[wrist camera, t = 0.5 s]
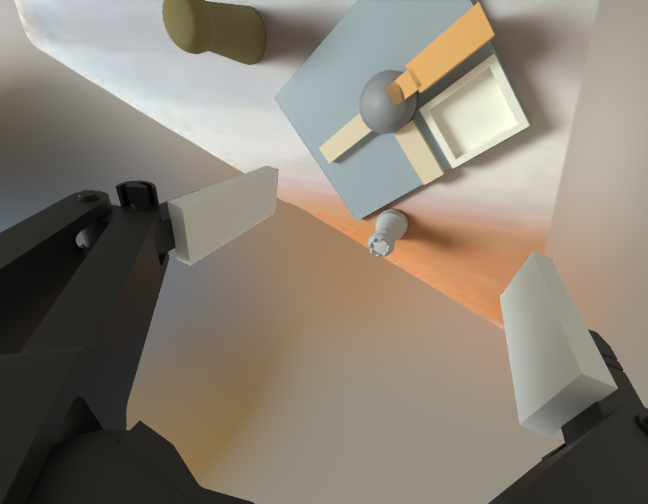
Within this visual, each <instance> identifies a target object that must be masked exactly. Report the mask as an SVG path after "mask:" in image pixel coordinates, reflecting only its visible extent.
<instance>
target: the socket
mask: <svg viewBox="0 0 648 504" xmlns="http://www.w3.org/2000/svg"><path fill="white" fill-rule="evenodd" d="M419 110H420V112H421V114H422V116H423V118H424V119H425V121H426V123H427V125H428V126H429V128H430V130H431V132H432V133H433V135H434V137H435V139H436V140H437V142H438V144H439V146H440V147H441V149H442V151H443V153H444V155H445V156H446V158H447V160H448V162H449V163H450V165H451V167H452V169H453V168H455V167H457V166H459V165H461V164H462V163H464V162H466V161H468V160H469V159H471V158H473V157H475V156H477V155H478V154H480V153H482V152H484V151H486V150H487V149H489V148H491V147H493V146H495V145H496V144H498V143H500V142H502V141H503V140H505V139H507V138H509V137H511V136H512V135H514V134H516V133H518V132H520V131H521V130H523V129H525V128H527V127H528V126H530V125H529V123H528V121H527V119H526V117H525V115H524V113H523V111H522V109H521V107H520V105H519V103H518V101H517V99H516V97H515V95H514V93H513V91H512V89H511V87H510V84H509V82H508V80H507V78H506V76H505V74H504V72H503V70H502V68H501V66H500V64H499V62H498V60H497V58H496V56H495V54H493V55H491V56H490V57H489V58H487V59H486V60H485V61H483V62H482V63H481V64H479V65H478V66H477V67H475V68H474V69H472V70H471V71H470V72H468V73H467V74H466V75H464V76H463V77H462V78H460V79H459V80H458V81H456V82H455V83H454V84H452V85H451V86H450V87H448V88H447V89H446V90H444V91H443V92H442V93H440V94H439V95H438V96H436V97H435V98H433V99H432V100H431V101H429V102H428V103H427V104H425V105H424V106H423V107H421V108H420V109H419Z"/></svg>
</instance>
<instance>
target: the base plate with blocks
mask: <svg viewBox="0 0 648 504" xmlns="http://www.w3.org/2000/svg"><path fill="white" fill-rule="evenodd" d="M472 7H473V4H472V2H471V0H357V2H356V3H355V4H354V5H353V6H352V7H351V9H350V10H349V11H348V12H347V13H346V14H345V16H344V17H343V18H342V19H341V20H340V21H339V23H338V24H337V25H336V26H335V27H334V28H333V30H332V31H331V32H330V33H329V34H328V35H327V37H326V38H325V39H324V40H323V41H322V42H321V44H320V45H319V46H318V47H317V48H316V50H315V51H314V52H313V53H312V54H311V55H310V57H309V58H308V59H307V60H306V61H305V62H304V64H303V65H302V66H301V67H300V68H299V69H298V71H297V72H296V73H295V74H294V75H293V76H292V78H291V79H290V80H289V81H288V82H287V83H286V85H285V86H284V87H283V88H282V89H281V90H280V92H279V93H278V94H277V95H276V96H275V97H274V99H275V100H276V102H277V103H278V105H279V106H280V108H281V109H282V111H283V112H284V114H285V115H286V117H287V118H288V120H289V121H290V123H291V124H292V126H293V127H294V129H295V130H296V132H297V133H298V135H299V136H300V138H301V139H302V141H303V142H304V144H305V145H306V147H307V148H308V150H309V151H310V153H311V154H312V156H313V157H314V159H315V160H316V162H317V163H318V165H319V166H320V168H321V169H322V171H323V172H324V174H325V175H326V177H327V178H328V179H329V181H330V182H331V184H332V185H333V187H334V188H335V190H336V191H337V193H338V194H339V196H340V197H341V199H342V200H343V202H344V203H345V205H346V206H347V208H348V209H349V211H350V212H351V214H352V215H353V217H354V218H355V220H356V221H358V220H360V219H361V218H363V217H365V216H367V215H369V214H370V213H372V212H374V211H376V210H377V209H379V208H381V207H383V206H385V205H386V204H388V203H390V202H392V201H393V200H395V199H397V198H399V197H401V196H402V195H404V194H406V193H408V192H409V191H411V190H413V189H415V188H417V187H418V186H420V185H422V184H424V185H426V184H427V183H429V182H431V181H433V180H434V179H436V178H438V177H440V176H442V175H443V174H444V172H445V171H447V170H448V169H450V168H452V167H451V165H450V163H449V162H448V160H447V158H446V156H445V155H444V153H443V151H442V149H441V147H440V146H439V144H438V142H437V140H436V139H435V137H434V135H433V133H432V132H431V130H430V128H429V126H428V125H427V123H426V121H425V119H424V118H423V116H422V114H421V112H420V110H419V109H420V108H421V107H423V106H424V105H425V104H427V103H428V102H429V101H431V100H432V99H433V98H435V97H436V96H438V95H439V94H440V93H442V92H443V91H444V90H446V89H447V88H448V87H450V86H451V85H452V84H454V83H455V82H456V81H458V80H459V79H460V78H462V77H463V76H464V75H466V74H467V73H468V72H470V71H471V70H472V69H474V68H475V67H477V66H478V65H479V64H481V63H482V62H483V61H485V60H486V59H487V58H489V57H490V56H491V55H493V54H495V56H496V58H497V60H498V62H499V64H500V66H501V68H502V70H503V72H504V74H505V76H506V78H507V80H508V82H509V84H510V87H511V89H512V91H513V93H514V95H515V97H516V99H517V101H518V103H519V105H520V107H521V109H522V111H523V113H524V115H525V117H526V119H527V121H528V123H529V124H530V123H531V122H530V120H529V118H528V116H527V114H526V112H525V110H524V108H523V106H522V104H521V102H520V100H519V98H518V96H517V94H516V92H515V90H514V88H513V86H512V84H511V81H510V79H509V77H508V75H507V73H506V71H505V69H504V67H503V65H502V63H501V61H500V59H499V57H498V55H497V53H496V51H495V49H494V47H493V45H492V43H491V41H489V42H488V43H486V44H485V45H484V46H483V47H481V48H480V49H479V50H477V51H476V52H475V53H473V54H472V55H471V56H470V57H468V58H467V59H466V60H464V61H463V62H462V63H461V64H459V65H458V66H457V67H455V68H454V69H453V70H452V71H450V72H449V73H448V74H446V75H445V76H444V77H443V78H441V79H440V80H439V81H437V82H436V83H435V84H434V85H432V86H431V87H430V88H428V89H427V90H426V91H424V92H423V93H420V92H419V90H418V91H417V92H415V93H414V94H413V95H412V96H410V97H409V98H408V99H407V105H406V109H405V112H404V114H403V115H402V117H401V118H400V119H399V120H398V121H397V122H396V123H394V124H392V125H390V126H388V127H384V128H378V127H375V126H373V125H371V124H370V123H369V122H368V121H367V120H366V119H365V117H364V115H363V111H362V100H363V96H364V94H365V92H366V90H367V89H368V87H369V86H370V85H371V84H373V83H374V82H376V81H378V80H381V79H391V80H396V79H397V78H398V77H399V76H401V75H402V74H403V73H404V72H405V71H406V70H407V68H406V67H405V65H407V64H408V63H409V62H410V61H411V60H412V59H413V58H415V57H416V56H417V55H418V54H419V53H420V52H421V51H423V50H424V49H425V48H426V47H427V46H428V45H429V44H431V43H432V42H433V41H434V40H435V39H436V38H437V37H439V36H440V35H441V34H442V33H443V32H444V31H445V30H447V29H448V28H449V27H450V26H451V25H452V24H453V23H455V22H456V21H457V20H458V19H459V18H460V17H461V16H463V15H464V14H465V13H466V12H467V11H468V10H469V9H471V8H472Z"/></svg>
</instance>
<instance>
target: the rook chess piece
mask: <svg viewBox="0 0 648 504" xmlns="http://www.w3.org/2000/svg"><path fill="white" fill-rule="evenodd" d="M407 227H408V222H407V218H406V217H405V216H404V214H403V213H401V212H399V211H398V210H393V209H389V210H385V211H383V212H382V213H381V214H380V215H379V216H378V218H377V220H376V225H375V228H376V232H375V233H374V234H373V235H371V236H370V238H369V240H368V246H369V249H370V252H371V253H372V254H373V253H374V254H376V257H380V256H383V257H384V256H387V255H389V254H391V253H392V251H393V250H394V242H395V240H398V239H399V238H401V237H402V236H403V235H404V234H405V232H406V231H407Z"/></svg>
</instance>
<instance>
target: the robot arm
mask: <svg viewBox="0 0 648 504" xmlns="http://www.w3.org/2000/svg"><path fill="white" fill-rule="evenodd" d="M278 170H279V169H276V168H273V167H269V166H265V167H262V168H260V169H257V170H254V171H251V172H248V173H246V174H243V175H240V176H238V177H235V178H232V179H229V180H226V181H223V182H221V183H218V184H215V185H212V186H209V187H207V188H204V189H201V190H198V191H195V192H192V193H190V194H186V195H184V196H182V197H178V198H175V199H172V200H170V201H167V202H164V203H162V204H159V201H158V197H157V191H156V186H155V185H154V184H153V183H150V182H147V181H128V182H124V183H120V184H118V185H117V186H116V189H117V193H118V196H119V200H120V204H121V206H116V205H111V202H110V199H109V195H108V194H107V193H105V192H101V191H93V190H89V191H87V190H86V191H82V192H78V193H75V194H72V195H70V196H68V197H66V198H64V199H62V200H60V201H59V202H57V203H55V204H53V205H51V206H49V207H47V208H46V209H44V210H42V211H40V212H38V213H37V214H34V215H33V216H31V217H29V218H27V219H25V220H23V221H22V222H20V223H18V224H16V225H14V226H12V227H11V228H9V229H7V230H5V231H3V232H1V233H0V504H254V503H253V502H250V501H247V500H243V499H240V498H236V497H233V496H229V495H226V494H222V493H219V492H215V491H212V490H208V489H205V488H203V487H201V486H200V485H199V484H198V483H197V481H196V480H195V478H194V477H193V475H192V474H191V472H190V470H189V469H188V467H187V466H186V464H185V463H184V461H183V460H182V458H181V457H180V455H179V453H178V452H177V450H176V449H175V447H174V446H173V444H171V443H170V442H169V441H167V440H166V439H165V438H163V437H162V436H160V435H159V434H158V433H156V432H155V431H153V430H152V429H151V428H149V427H148V426H146V425H145V424H144V423H142V422H141V421H139V422H138V423H137V424H136V425H135V426H134V427H133V428H132V429H131V430H126V425H127V424H126V408H127V402H128V399H129V395H130V392H131V389H132V385H133V381H134V378H135V375H136V371H137V368H138V364H139V361H140V357H141V354H142V351H143V347H144V344H145V340H146V337H147V334H148V330H149V326H150V323H151V320H152V316H153V312H154V309H155V306H156V303H157V299H158V296H159V292H160V289H161V285H162V282H163V279H164V275H165V272H166V268H167V264H168V261H169V253H168V251H170V250H172V249H174V248H175V249H176V255H177V259H178V260H180V261H182V262H184V263H186V264H188V265H192V264H194V263H196V262H197V261H199V260H200V259H202V258H204V257H205V256H207V255H208V254H210V253H212V252H213V251H215V250H217V249H218V248H220V247H221V246H223V245H225V244H226V243H228V242H229V241H231V240H233V239H234V238H236V237H237V236H239V235H241V234H242V233H244V232H246V231H247V230H249V229H250V228H252V227H253V226H255V225H256V224H258V223H260V222H262V221H263V220H265V219H266V218H268V217H270V216H271V215H273V214H274V213H275V212H276V199H277V184H278ZM79 233H80V235H81V237H82V240H83V242H84V244H83V245H82V246H80V247H79V246H78V245H77V243H76V237H77V235H78V234H79ZM500 302H501V308H502V315H503V321H504V327H505V333H506V340H507V346H508V353H509V359H510V365H511V372H512V378H513V384H514V391H515V396H516V403H517V409H518V415H519V422H520V425H522V426H524V427H526V428H528V429H530V430H532V431H534V432H536V433H538V434H540V435H543V436H545V437H547V438H548V437H550V436H551V435H552V434H554V433H556V432H557V431H558V430H560V429H562V432H563V436H564V440H565V443H564V444H562V445H561V446H559V447H558V448H556V449H555V450H553V451H552V452H550V453H549V454H547V455H546V456H544V457H543V458H542V461H540V462H539V463H538V464H537V465H536V466H534V467H533V468H532V469H530V470H529V471H528V472H527V473H525V474H524V475H523V476H522V477H521V478H520V479H518V480H517V481H516V482H514V483H513V484H512V485H511V486H509V487H508V488H507V489H506V490H504V491H503V492H502V493H501V494H499V495H498V496H497V497H496V498H495V499H493V500H492V501H491V502H490V503H488V504H648V409H647V408H645V407H644V406H643V404H642V402H641V400H640V398H639V397H638V395H637V393H636V392H635V390H634V388H633V386H632V384H631V383H630V381H629V379H628V377H627V376H626V374H625V373H624V372H623V368H622V367H621V365H620V363H619V362H618V361H617V358H616V356H615V354H614V352H613V351H612V349H611V347H610V346H609V345H608V344H607V343H606V342H605V341H604V339H602V337H601V336H600V335H599V334H598V333H597V332H594V331H591V330H589V329H587V327H586V325H585V323H584V321H583V319H582V317H581V315H580V313H579V311H578V309H577V307H576V305H575V303H574V301H573V299H572V297H571V296H570V293H569V291H568V290H567V287H566V286H565V284H564V282H563V280H562V278H561V276H560V274H559V272H558V270H557V268H556V266H555V264H554V262H553V260H552V258H549V257H546V256H543V255H540V254H537V253H534V252H532V253H531V254H530V256H529V257H528V258H527V260H526V261H525V263H524V264H523V265H522V267H521V268H520V270H519V271H518V272H517V274H516V275H515V277H514V278H513V279H512V281H511V282H510V284H509V285H508V286H507V288H506V289H505V291H504V292H503V293H502V295H501V296H500Z"/></svg>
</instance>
